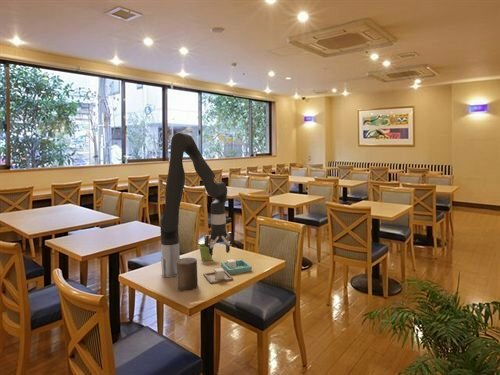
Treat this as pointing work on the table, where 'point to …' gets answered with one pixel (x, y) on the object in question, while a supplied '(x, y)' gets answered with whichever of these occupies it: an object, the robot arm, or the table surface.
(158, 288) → the table surface
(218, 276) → the stone
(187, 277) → the pillar candle
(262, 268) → the table surface
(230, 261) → the stone
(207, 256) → the plant pot
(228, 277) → the tray
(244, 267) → the dish
